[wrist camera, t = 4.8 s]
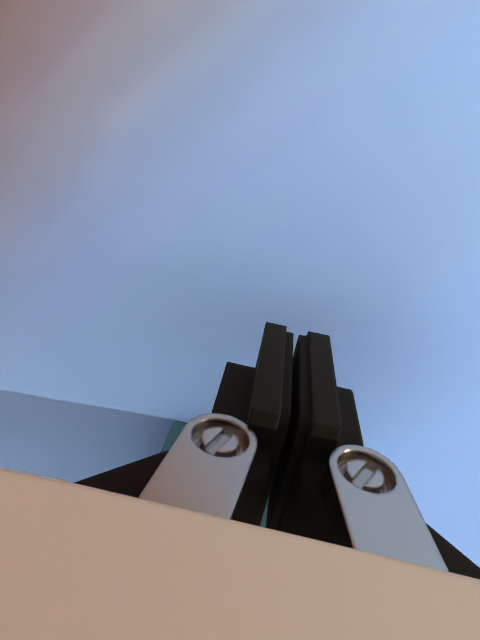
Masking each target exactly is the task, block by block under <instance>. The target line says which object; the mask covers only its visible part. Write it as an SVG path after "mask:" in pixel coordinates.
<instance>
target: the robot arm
mask: <svg viewBox="0 0 480 640" xmlns="http://www.w3.org/2000/svg"><path fill="white" fill-rule="evenodd" d="M267 500H268V506H267V518H266V528H264V527H260V524H261V521H262V517H263V514H264V510H265V507H266V503H267ZM0 640H480V568H479V567H478V566H477V565H475V564H474V563H473V562H472V561H471V560H469V559H468V558H467V557H466V556H465V555H463V554H462V553H461V552H460V551H459V550H457V549H456V548H455V547H454V546H453V545H451V544H450V543H449V542H448V541H447V540H445V539H444V538H443V537H442V536H441V535H439V534H438V533H437V532H436V531H435V530H433V529H432V528H431V527H430V526H429V525H427V524H426V523H425V521H424V519H423V517H422V515H421V513H420V511H419V508H418V506H417V504H416V502H415V500H414V498H413V496H412V494H411V492H410V490H409V488H408V486H407V484H406V481H405V479H404V477H403V475H402V474H401V472H400V471H399V469H398V468H397V466H396V465H395V464H393V463H392V462H391V461H390V460H389V459H388V458H387V457H385V456H383V455H382V454H380V453H379V452H377V451H374V450H372V449H370V448H367V447H364V445H363V440H362V435H361V430H360V425H359V420H358V415H357V410H356V405H355V400H354V395H353V392H352V390H350V389H345V388H341V387H337V385H336V378H335V371H334V364H333V357H332V350H331V343H330V337H329V336H328V335H323V334H319V333H314V332H310V331H308V333H307V336H303V335H299V337H298V340H297V343H296V347H295V351H294V355H293V333H289V332H286V326H283V325H278V324H274V323H269V322H266V325H265V329H264V333H263V337H262V342H261V346H260V350H259V354H258V359H257V363H256V367H255V368H253V367H248V366H244V365H240V364H235V363H231V362H227V364H226V367H225V371H224V374H223V377H222V381H221V384H220V387H219V390H218V394H217V397H216V400H215V403H214V407H213V410H212V413H209V414H204V415H199V416H197V417H195V418H193V419H191V420H190V421H189V422H188V423H187V424H186V426H185V427H184V429H183V430H182V432H181V433H180V435H179V436H178V438H177V439H176V441H175V442H174V444H173V445H172V447H171V449H170V450H167V451H164V452H161V453H158V454H156V455H153V456H150V457H147V458H144V459H141V460H138V461H135V462H133V463H130V464H127V465H124V466H121V467H118V468H115V469H112V470H110V471H107V472H104V473H101V474H98V475H95V476H92V477H89V478H86V479H84V480H81V481H78V482H75V483H72V482H67V481H63V480H59V479H54V478H50V477H45V476H40V475H35V474H30V473H25V472H20V471H15V470H10V469H5V468H0Z"/></svg>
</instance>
